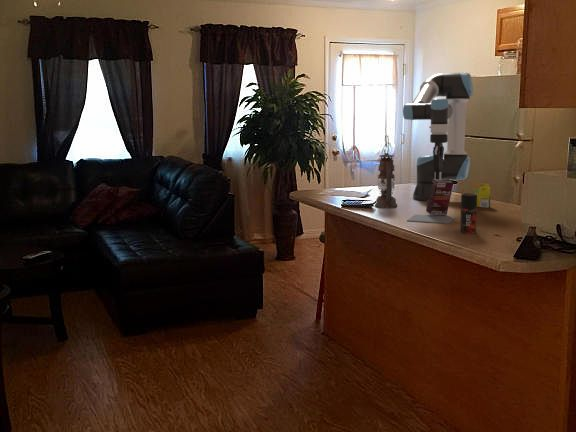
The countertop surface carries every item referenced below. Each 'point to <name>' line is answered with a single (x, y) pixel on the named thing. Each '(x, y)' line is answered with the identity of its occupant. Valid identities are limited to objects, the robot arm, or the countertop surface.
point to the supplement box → (439, 197)
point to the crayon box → (482, 195)
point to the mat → (431, 219)
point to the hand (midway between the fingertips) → (437, 186)
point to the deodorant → (468, 213)
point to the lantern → (386, 182)
